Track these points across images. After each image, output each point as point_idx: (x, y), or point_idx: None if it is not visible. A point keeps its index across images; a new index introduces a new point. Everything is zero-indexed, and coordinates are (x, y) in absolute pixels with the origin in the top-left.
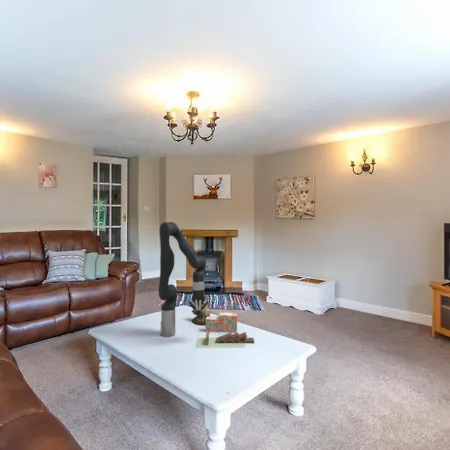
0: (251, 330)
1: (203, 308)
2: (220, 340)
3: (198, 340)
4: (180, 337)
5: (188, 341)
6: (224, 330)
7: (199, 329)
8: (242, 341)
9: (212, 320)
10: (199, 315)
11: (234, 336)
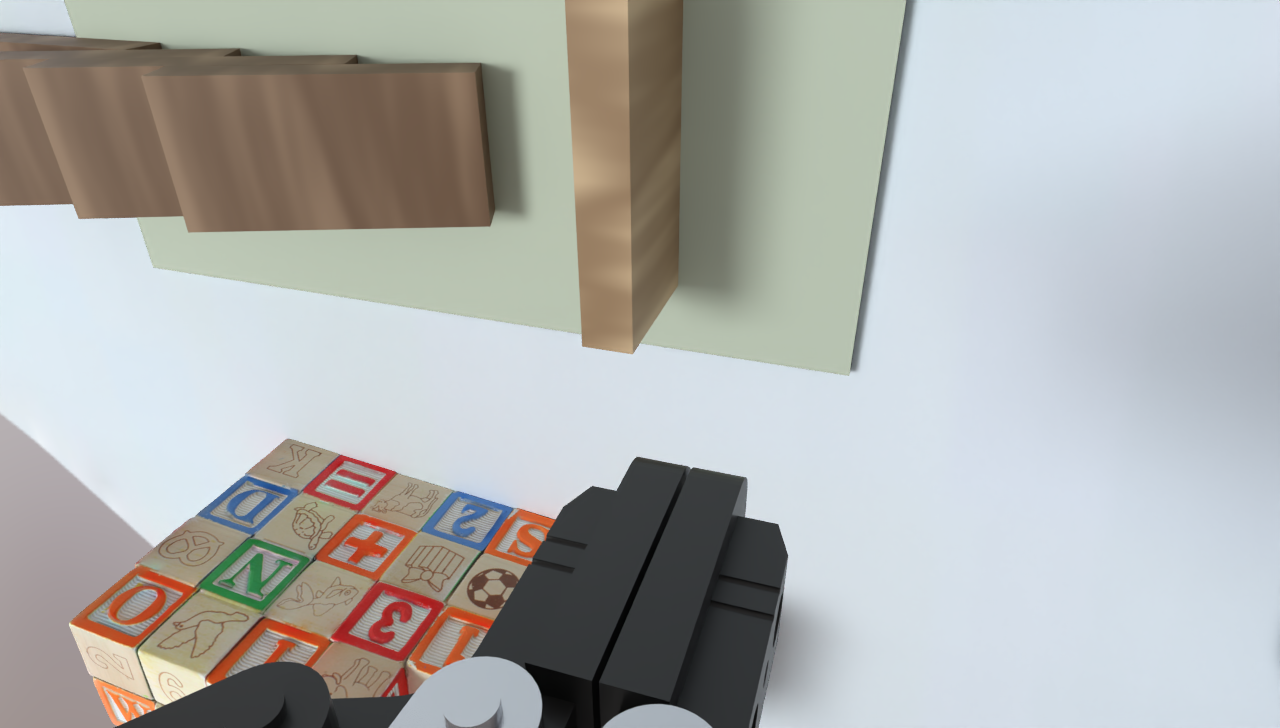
0: (151, 488)
1: (202, 704)
2: (389, 69)
3: (832, 243)
4: (1200, 469)
5: (1050, 247)
6: (416, 509)
7: (802, 685)
8: (74, 42)
9: None
10: (629, 470)
11: (111, 74)
